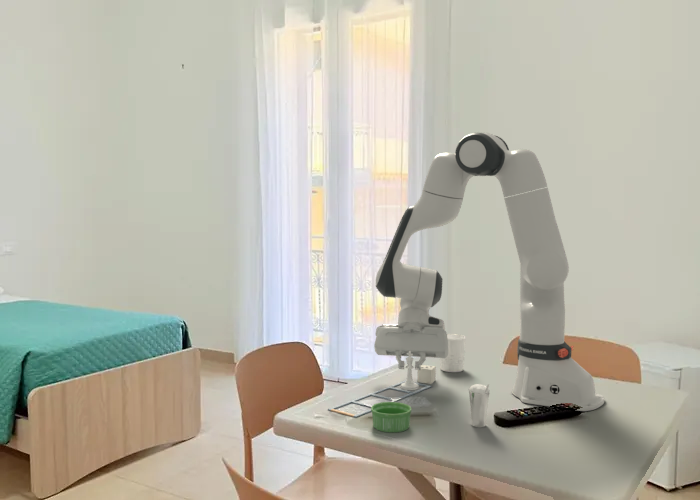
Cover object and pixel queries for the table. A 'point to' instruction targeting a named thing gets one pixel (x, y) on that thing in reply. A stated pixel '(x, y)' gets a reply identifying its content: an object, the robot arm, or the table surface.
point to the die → (427, 374)
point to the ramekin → (391, 416)
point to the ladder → (377, 396)
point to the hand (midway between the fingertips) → (409, 368)
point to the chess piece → (409, 375)
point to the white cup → (454, 354)
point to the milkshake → (479, 404)
